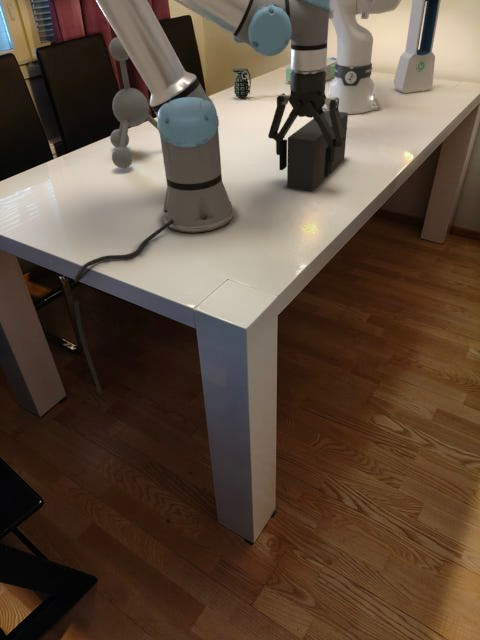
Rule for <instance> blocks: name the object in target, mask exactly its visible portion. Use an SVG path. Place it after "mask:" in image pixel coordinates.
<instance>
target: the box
mask: <svg viewBox="0 0 480 640" xmlns="http://www.w3.org/2000/svg"><path fill="white" fill-rule="evenodd" d="M323 111H324V113H325V117H326V119H327V121H328V123H329V125H330V127H331V129H332V131H333V133H334V130H333V126H332V122H331V117H330V112H329V110H323ZM339 114H340V118H341V122H342V126H343V131H344V135H345V139H346V140H347V132H348V130H347V129H348V119H349V114H348V113H345V112H339ZM334 135H335V134H334ZM346 143H347V142H345V143H344V144H343V145H342V146H340V147H337V152H336V159H335V161H334V162H332V168H331V173H332V172H333V171H334V170H335V169H336V168H337V167H338V166H339V165H340V164H341V163H342V162H343V161H344V160H345V157H346V155H345V154H346ZM328 146H329V145H328V143H327V141H326V139H325V137H324V135H323V133H322V131H321V130H320V128H319V126H318V124H317V122H316V121H315V120H314V118H312V119H311V120H310V121H308V122H307V123H305V124H304V125H302V126H301V127H300V128H299V129H297V130H296V131H295V132H293V133H292V134H290V135H289V136H288V137H287V167H286V168H287V175H286V188H288V189H294V190H300V191H306V192H314V191H315V189H316V188H318V186H319V185H321V184H322V182H323V181H325V179H326V178H327V177H324V170H325V152H326V148H327V147H328Z"/></svg>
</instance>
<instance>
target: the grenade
mask: <svg viewBox="0 0 480 640" xmlns="http://www.w3.org/2000/svg"><path fill="white" fill-rule="evenodd" d="M231 72H232V73H235V74H236V75H237V76H236V77H235V78H234V83H233V84H234V86H233V89H234V91H233V92H234V95H235V97H236V98H237V99H240V100H243V99H246V98H247V97H248V96H249V95H250V93H251V84H252V77H251V73H250V71H249V69H248V68H232V69H231ZM248 79H249V81H248Z"/></svg>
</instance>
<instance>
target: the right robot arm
mask: <svg viewBox="0 0 480 640" xmlns="http://www.w3.org/2000/svg"><path fill="white" fill-rule="evenodd" d="M401 2H402V0H330V11H329V20H330V22H331V23H332V25H333V27H334V30H335V34H336V44H337V45H336V47H337V48H336V54H337V55H336V58H337V63H336V64H335V77H333V78H332V80H331V81H330V82H329V86H328V95H327V98H331V99H334V98H335V97H337V98H339V107H338V109H339V112H345V113H348V115H357V114H363V113H368V112H371V111H377V110H379V106H378V104H377V100H376V99H375V98H374V97H375V93H374V92H375V91H374V90H375V82H374V81H373V80H372V78H371V75H372V71H373V63H372V55H373V45H374V37H373V34H372V32H371V31H370V30H368V28H366V27H364V26H362V25H360V24H359V22H358V20H357V17H356V16H357V15H360V19H361V20H368V19H369V15H380V14H384V13H385V14H386V13H390V12H392V11H395V10H396V9H397V8H398V7H399V5H400V3H401ZM322 109H323V110H327V111H329V109H328V108H327V105H326V104H325V105H324V106H323V107H322Z"/></svg>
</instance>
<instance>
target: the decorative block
mask: <svg viewBox="0 0 480 640" xmlns="http://www.w3.org/2000/svg"><path fill="white" fill-rule="evenodd" d="M336 63H337V57H336V58H335V57H334V56H333V57H327V62H326V68H325V69H323V70H325V72H326V82H327V81H329V80H331V79H334V78H335V64H336ZM290 66H291V64H290V65H288V67H286V68H285V82H290V76H291V72H292V71H293V70H292V69H291V68H290Z"/></svg>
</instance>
